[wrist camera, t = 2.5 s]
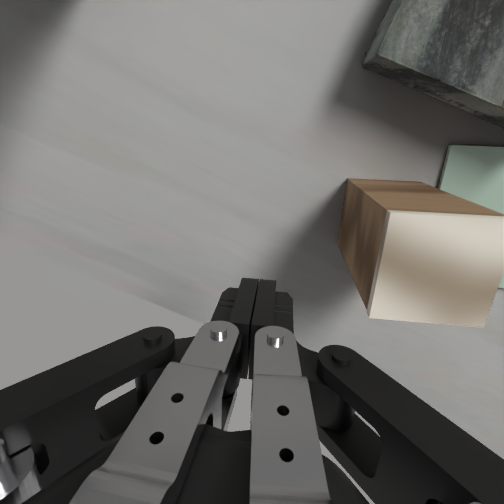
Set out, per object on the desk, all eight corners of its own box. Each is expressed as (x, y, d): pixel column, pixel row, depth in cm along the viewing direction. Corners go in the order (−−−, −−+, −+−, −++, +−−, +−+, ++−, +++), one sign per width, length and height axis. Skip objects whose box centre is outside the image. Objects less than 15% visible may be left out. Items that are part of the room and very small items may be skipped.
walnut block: (346, 177, 26) (390, 212, 15) (421, 181, 26) (522, 220, 15) (337, 244, 29) (369, 317, 17) (405, 249, 28) (483, 327, 17)
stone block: (425, -78, 20) (469, -145, 15) (616, 12, 21) (716, -25, 16) (358, 68, 24) (377, 51, 19) (525, 142, 24) (585, 144, 19)
